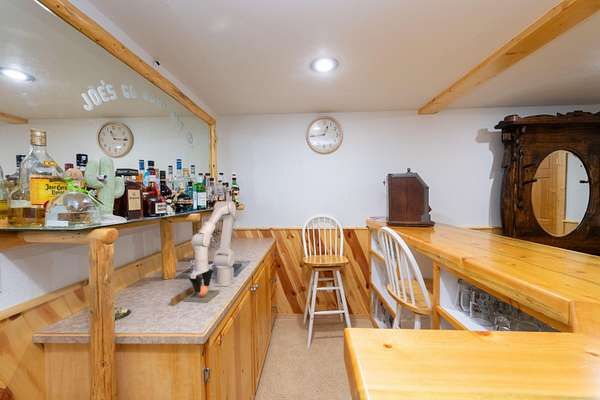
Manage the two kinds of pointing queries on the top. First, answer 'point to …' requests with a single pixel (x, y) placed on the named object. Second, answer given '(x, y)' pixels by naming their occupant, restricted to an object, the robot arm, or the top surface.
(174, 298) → the wooden plank
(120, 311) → the log
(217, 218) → the robot arm
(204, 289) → the ball
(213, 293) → the tray
